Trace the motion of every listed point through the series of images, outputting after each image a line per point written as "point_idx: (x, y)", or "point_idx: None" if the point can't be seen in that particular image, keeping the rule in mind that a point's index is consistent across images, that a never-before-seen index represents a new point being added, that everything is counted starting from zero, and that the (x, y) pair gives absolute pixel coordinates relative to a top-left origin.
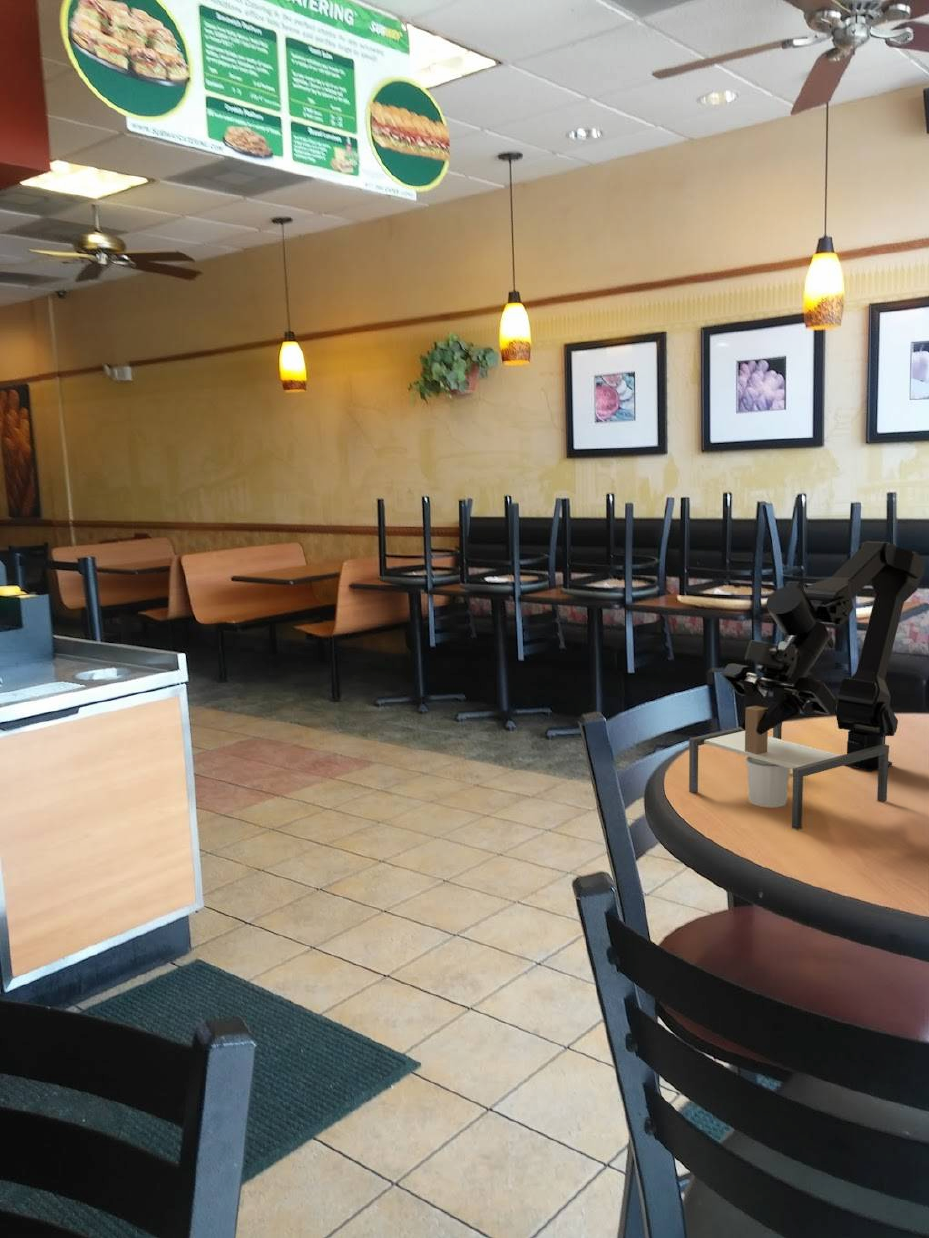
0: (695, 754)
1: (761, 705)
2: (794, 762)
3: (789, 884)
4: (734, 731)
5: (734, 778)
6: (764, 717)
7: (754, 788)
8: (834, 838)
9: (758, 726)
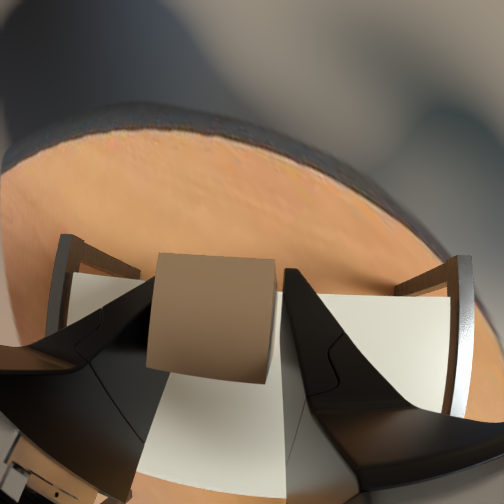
0: (434, 274)
1: (290, 469)
2: (99, 304)
3: (79, 126)
4: None
5: None
6: (144, 291)
7: None
8: None
9: None
